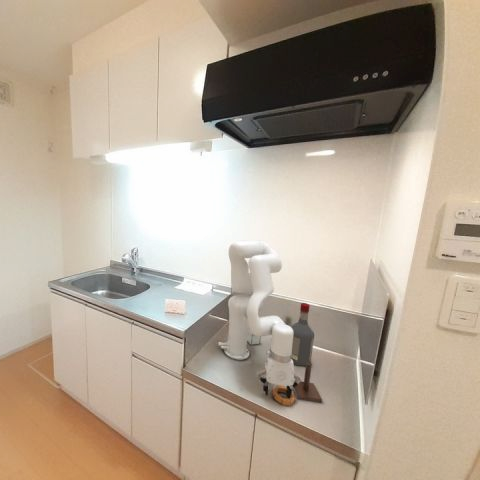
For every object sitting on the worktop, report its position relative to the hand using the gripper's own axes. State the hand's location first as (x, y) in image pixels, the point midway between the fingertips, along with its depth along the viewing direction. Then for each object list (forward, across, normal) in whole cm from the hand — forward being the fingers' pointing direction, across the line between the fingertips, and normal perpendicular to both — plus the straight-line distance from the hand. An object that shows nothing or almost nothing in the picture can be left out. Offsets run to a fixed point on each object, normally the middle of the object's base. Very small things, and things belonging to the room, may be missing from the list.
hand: (276, 393), depth 104 cm
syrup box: (+1, -3, +40) cm, 40 cm away
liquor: (+1, +17, +27) cm, 32 cm away
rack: (+2, +13, +5) cm, 14 cm away
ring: (+1, +3, 0) cm, 3 cm away
